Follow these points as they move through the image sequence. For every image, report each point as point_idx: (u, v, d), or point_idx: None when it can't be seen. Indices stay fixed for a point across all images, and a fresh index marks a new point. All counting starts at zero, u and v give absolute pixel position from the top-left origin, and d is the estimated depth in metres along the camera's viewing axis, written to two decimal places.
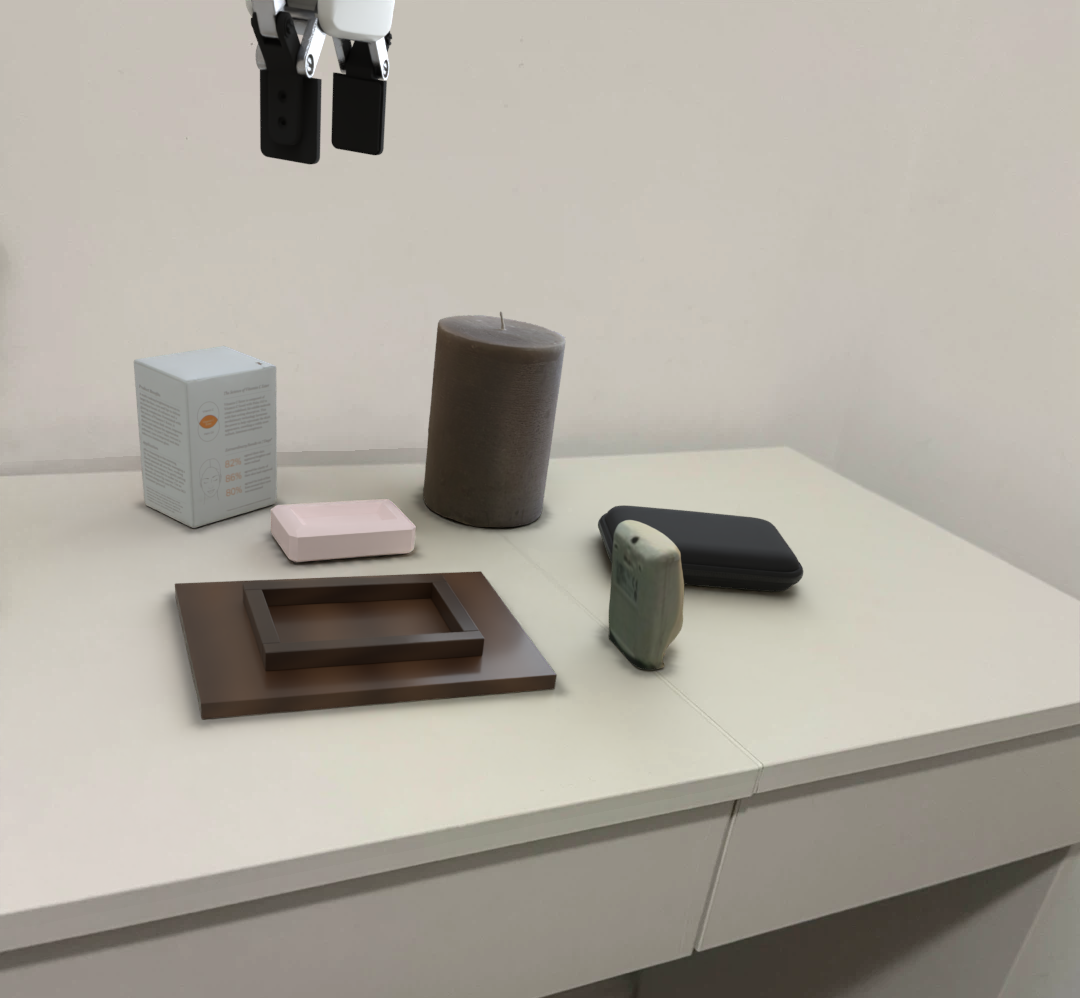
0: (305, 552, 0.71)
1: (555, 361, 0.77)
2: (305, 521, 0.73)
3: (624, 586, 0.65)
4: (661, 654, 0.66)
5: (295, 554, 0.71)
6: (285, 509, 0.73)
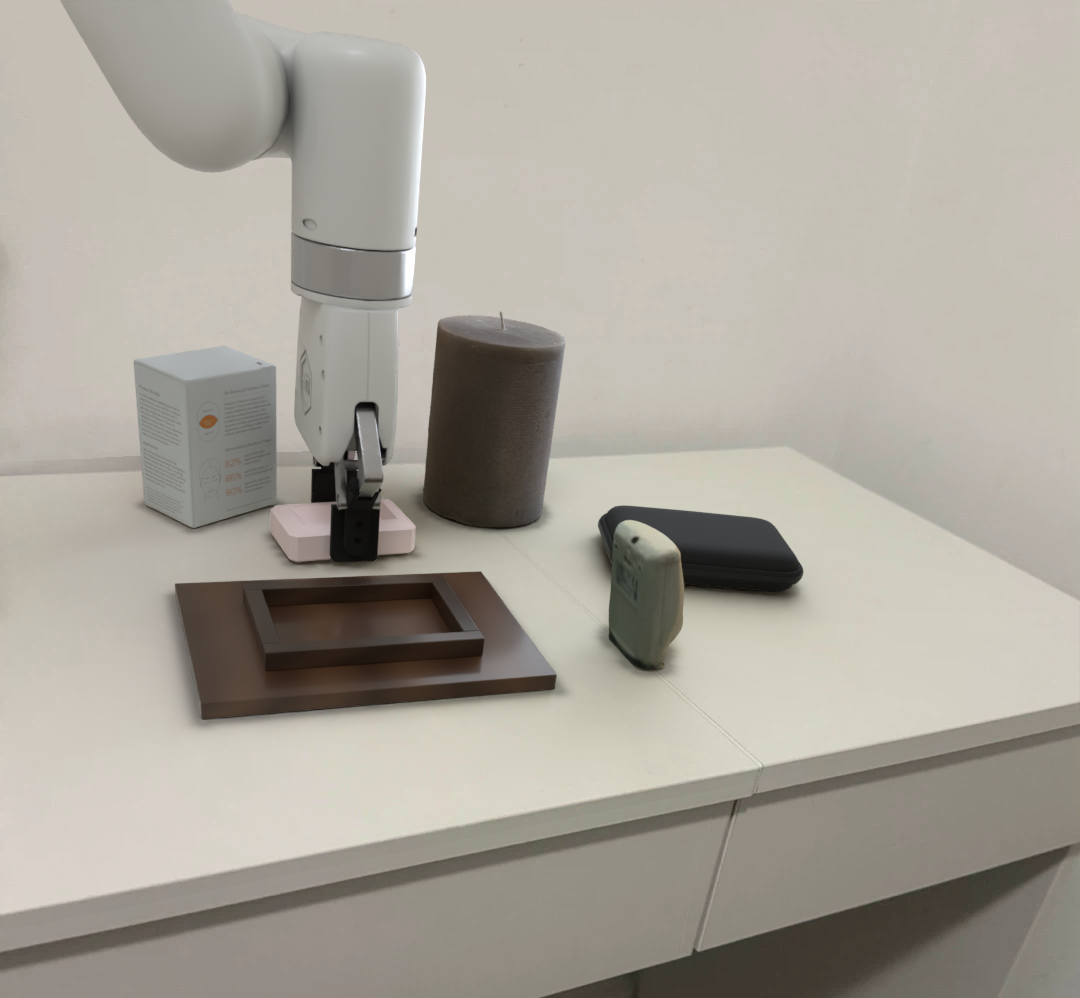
0: (306, 552, 0.71)
1: (555, 361, 0.77)
2: (305, 521, 0.73)
3: (624, 586, 0.65)
4: (661, 654, 0.66)
5: (295, 554, 0.71)
6: (285, 509, 0.73)
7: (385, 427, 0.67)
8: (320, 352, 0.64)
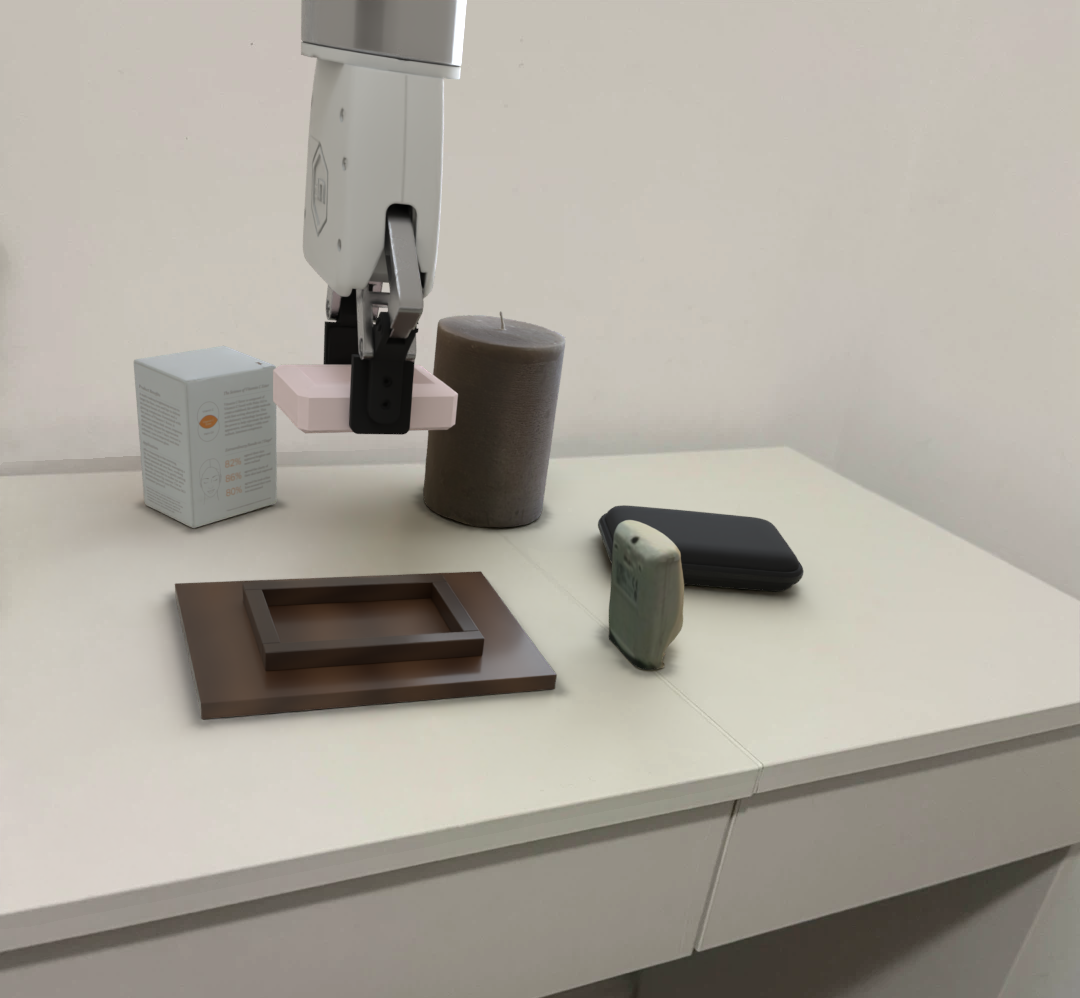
0: (319, 418, 0.55)
1: (555, 361, 0.77)
2: (317, 384, 0.57)
3: (624, 586, 0.65)
4: (661, 654, 0.66)
5: (305, 421, 0.55)
6: (292, 368, 0.57)
7: (425, 242, 0.51)
8: (341, 133, 0.48)
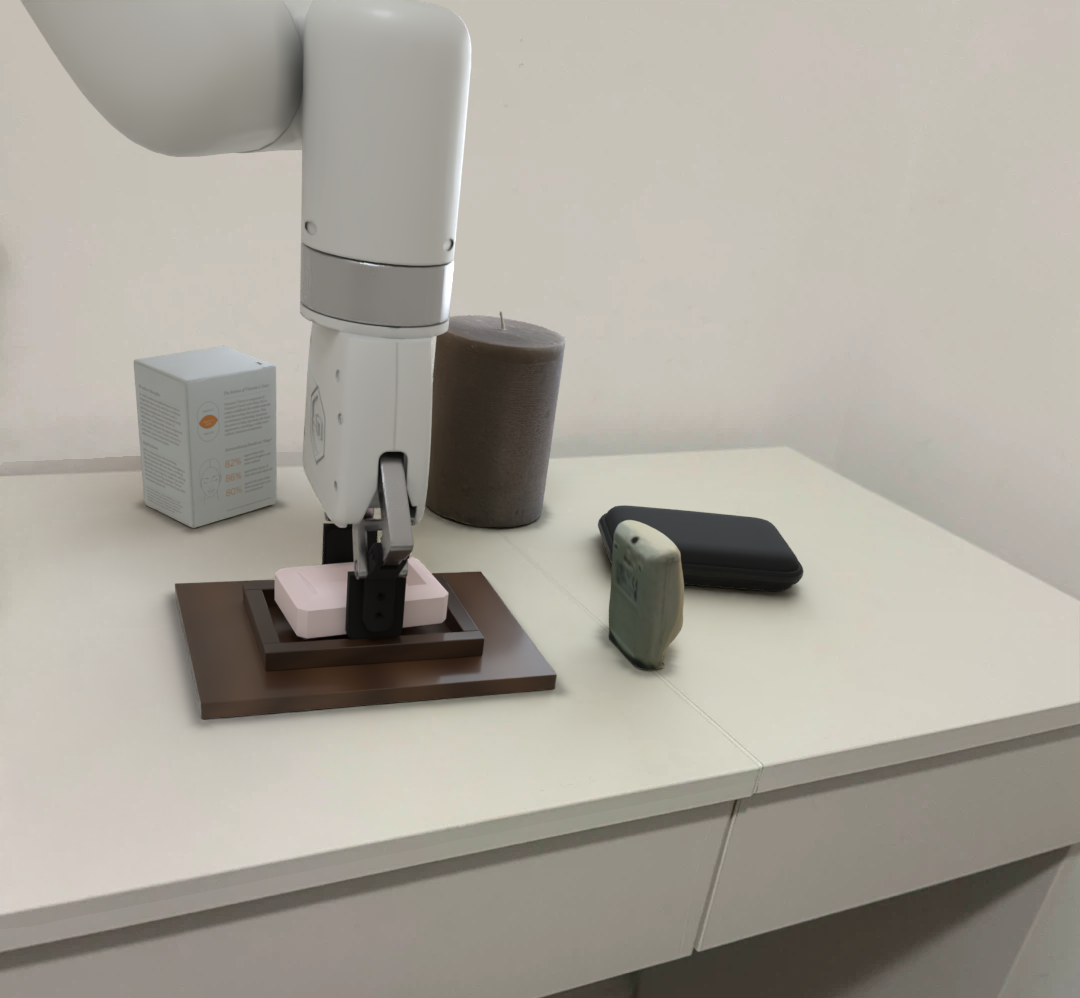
0: (317, 627, 0.59)
1: (555, 361, 0.77)
2: (316, 588, 0.61)
3: (624, 586, 0.65)
4: (661, 654, 0.66)
5: (304, 630, 0.59)
6: (292, 573, 0.61)
7: (415, 481, 0.54)
8: (337, 391, 0.52)
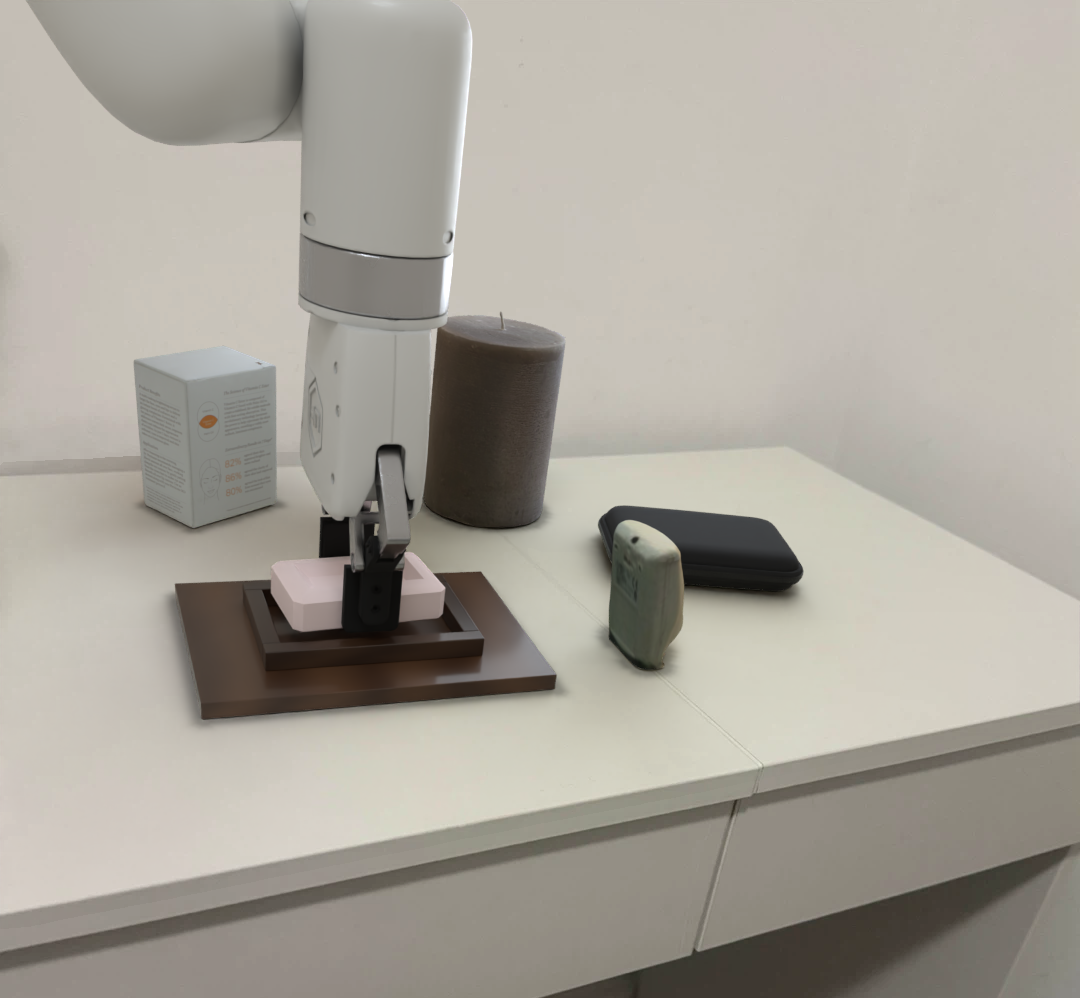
0: (313, 621, 0.59)
1: (555, 361, 0.77)
2: (313, 581, 0.61)
3: (624, 586, 0.65)
4: (661, 654, 0.66)
5: (300, 623, 0.59)
6: (289, 567, 0.61)
7: (413, 474, 0.54)
8: (335, 383, 0.52)
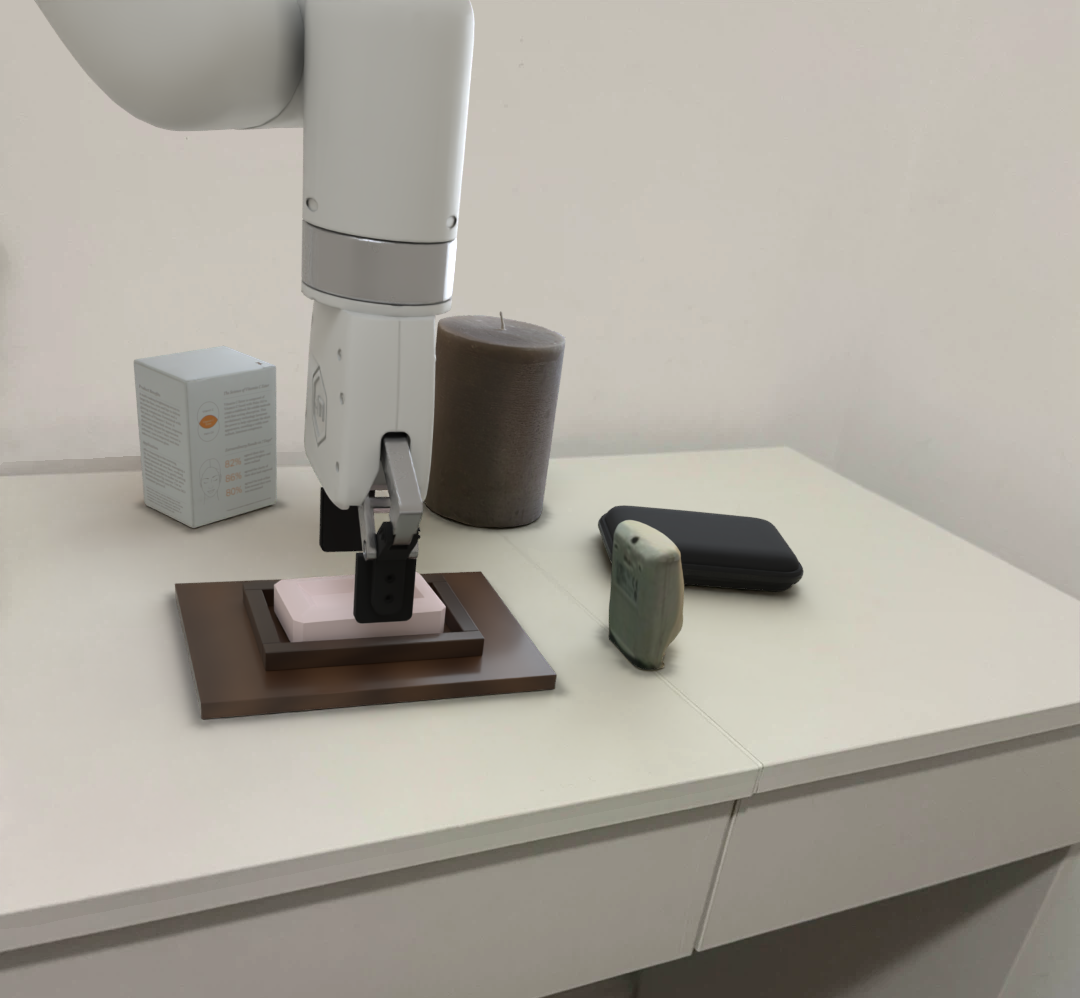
0: (313, 639, 0.60)
1: (555, 361, 0.77)
2: (314, 600, 0.62)
3: (624, 586, 0.65)
4: (661, 654, 0.66)
5: None
6: (291, 585, 0.62)
7: (418, 462, 0.54)
8: (339, 370, 0.51)
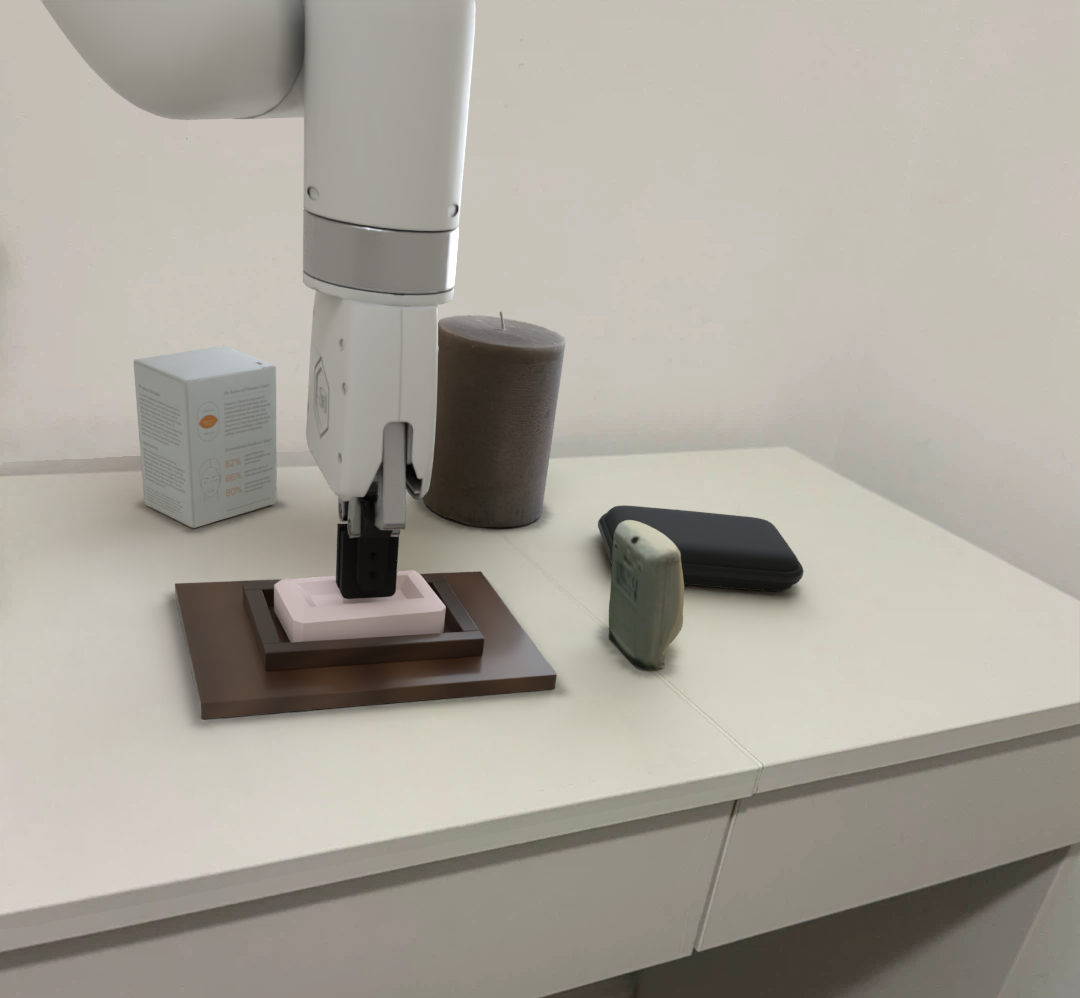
0: (313, 639, 0.60)
1: (555, 361, 0.77)
2: (314, 600, 0.62)
3: (624, 586, 0.65)
4: (661, 654, 0.66)
5: None
6: (291, 585, 0.62)
7: (421, 453, 0.53)
8: (341, 360, 0.51)
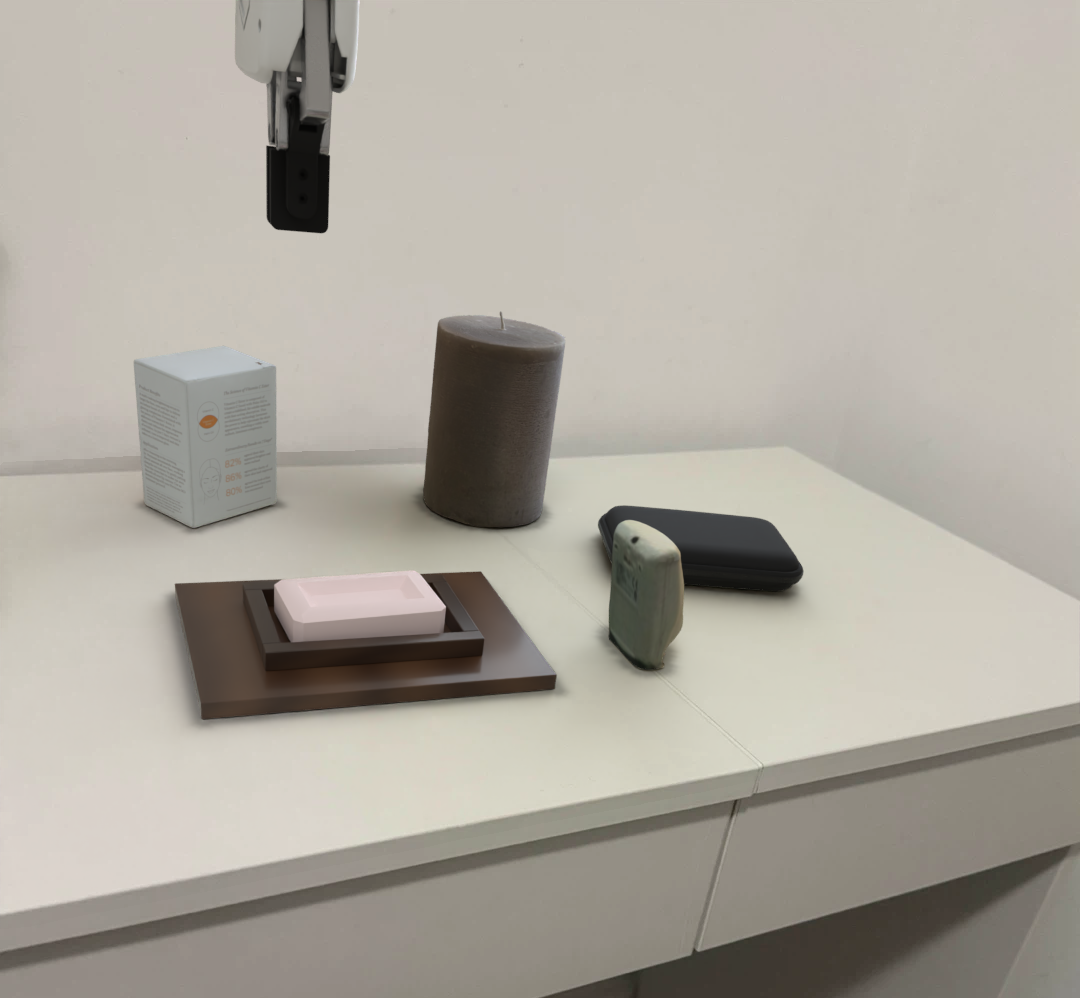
0: (313, 639, 0.60)
1: (555, 361, 0.77)
2: (314, 600, 0.62)
3: (624, 586, 0.65)
4: (661, 654, 0.66)
5: None
6: (291, 585, 0.62)
7: (344, 25, 0.52)
8: None
